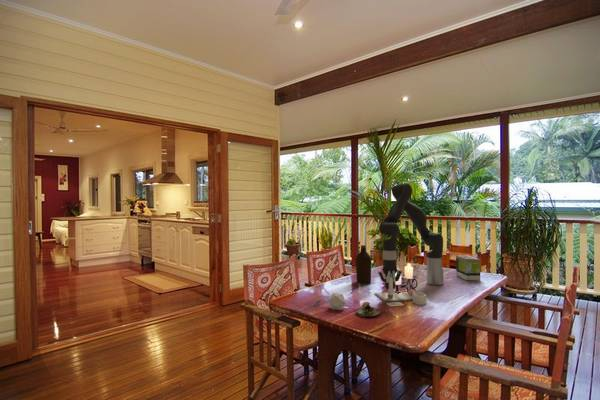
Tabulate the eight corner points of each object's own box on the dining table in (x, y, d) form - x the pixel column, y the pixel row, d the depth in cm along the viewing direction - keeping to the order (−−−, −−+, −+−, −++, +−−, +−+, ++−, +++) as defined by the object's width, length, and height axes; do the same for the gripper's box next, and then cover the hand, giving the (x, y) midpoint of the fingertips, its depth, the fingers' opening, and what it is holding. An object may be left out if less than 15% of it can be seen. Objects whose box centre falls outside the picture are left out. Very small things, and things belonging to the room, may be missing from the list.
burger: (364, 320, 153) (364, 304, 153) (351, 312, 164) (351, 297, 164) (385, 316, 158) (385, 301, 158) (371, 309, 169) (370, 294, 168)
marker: (391, 295, 184) (391, 272, 184) (394, 297, 181) (393, 273, 181) (386, 296, 184) (386, 272, 184) (388, 298, 181) (388, 273, 181)
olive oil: (364, 285, 211) (364, 247, 211) (352, 282, 220) (351, 245, 219) (375, 282, 218) (374, 245, 218) (362, 279, 226) (362, 243, 226)
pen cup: (422, 300, 180) (421, 292, 180) (428, 304, 173) (428, 295, 173) (411, 301, 179) (410, 293, 179) (417, 305, 172) (416, 296, 172)
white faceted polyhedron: (336, 314, 163) (347, 298, 164) (323, 303, 167) (334, 287, 167) (340, 314, 170) (350, 299, 171) (327, 304, 174) (337, 289, 175)
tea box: (481, 280, 218) (480, 258, 218) (466, 281, 219) (465, 259, 218) (469, 275, 234) (469, 254, 233) (455, 275, 234) (455, 255, 234)
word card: (386, 303, 176) (386, 302, 176) (400, 302, 177) (400, 301, 177) (390, 306, 171) (390, 306, 171) (404, 305, 172) (404, 304, 172)
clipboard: (406, 292, 196) (406, 290, 196) (419, 300, 180) (419, 298, 180) (374, 294, 192) (374, 292, 192) (385, 302, 177) (385, 300, 177)
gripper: (398, 256, 187) (398, 286, 187) (375, 257, 185) (375, 287, 185) (404, 258, 180) (405, 289, 180) (380, 260, 178) (381, 291, 178)
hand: (390, 288), depth 183 cm, fingers closed on marker, 3 cm apart
